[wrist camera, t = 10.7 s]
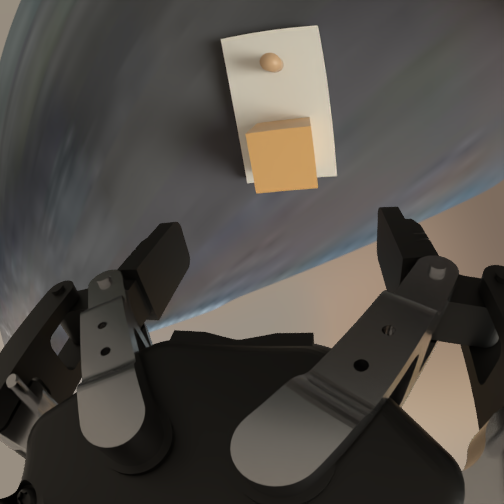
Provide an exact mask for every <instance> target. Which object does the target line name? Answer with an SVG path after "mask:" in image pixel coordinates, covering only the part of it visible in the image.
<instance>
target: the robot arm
mask: <svg viewBox="0 0 504 504" xmlns="http://www.w3.org/2000/svg"><path fill="white" fill-rule="evenodd" d="M377 256H378V261H379V264H380V268H381V271H382V275H383V278H384V281H385V285H386V289H387V290H385V291H383V292H382V293H381V294H380V296H378V298H377V299H376V300H375V301H374V302H373V303H372V305H371V306H370V307H369V308H368V309H367V310H366V312H365V313H364V314H363V315H362V316H361V317H360V318H359V319H358V321H357V322H356V323H355V324H354V325H353V326H352V327H351V328H350V329H349V331H348V332H347V333H346V334H345V335H344V336H343V337H342V338H341V339H340V340H339V341H338V342H337V344H335V346H334V347H333V348H332V349H331V348H329V347H325V346H322V345H317V344H314V335H313V333H275V334H271V335H265V336H259V337H254V338H248V339H243V340H235V339H230V338H226V337H222V336H218V335H215V334H211V333H207V332H194V331H193V332H192V331H176V330H175V331H174V333H173V334H172V336H171V339H170V340H169V341H164V342H160V343H156V344H154V345H153V344H152V341H151V338H150V335H149V332H148V329H147V327H146V325H145V323H144V322H145V320H159V319H160V317H161V316H162V314H163V312H164V310H165V308H166V307H167V305H168V303H169V301H170V299H171V298H172V296H173V294H174V292H175V291H176V289H177V287H178V285H179V284H180V282H181V280H182V278H183V277H184V275H185V273H186V272H187V270H188V268H189V264H190V256H189V252H188V249H187V245H186V242H185V239H184V235H183V232H182V229H181V226H180V224H179V223H178V222H170V223H161V224H159V225H158V226H157V228H156V229H155V230H154V231H153V232H152V233H151V234H150V235H149V237H148V238H146V239H145V240H143V241H142V242H141V243H140V244H139V245H138V246H137V247H136V250H134V251H133V252H132V253H131V255H130V256H129V257H128V258H127V259H126V260H125V261H124V263H123V264H122V265H121V266H120V267H119V268H118V270H108V271H105V272H103V273H101V274H99V275H97V276H96V277H95V278H93V279H92V280H91V282H90V283H89V285H88V289H84V290H80V291H77V290H76V288H75V286H74V284H73V282H72V281H63V282H61V283H58V284H56V285H55V286H53V287H52V288H51V289H50V290H49V291H48V292H47V293H46V294H45V296H44V297H43V298H42V299H41V300H40V302H39V303H38V304H37V305H36V306H35V308H34V309H33V310H32V311H31V313H30V314H29V315H28V316H27V318H26V319H25V320H24V321H23V323H22V324H21V325H20V327H19V328H18V329H17V331H16V332H15V333H14V334H13V336H12V337H11V338H10V340H9V341H8V343H7V344H6V345H5V347H4V348H3V349H2V351H1V353H0V441H1V442H3V443H4V444H5V445H6V446H8V447H9V448H10V449H12V450H14V451H16V452H17V453H18V454H20V455H21V456H22V457H24V458H25V459H26V460H25V467H24V472H23V476H22V481H21V483H20V485H19V487H18V489H17V491H16V492H15V493H14V494H12V495H11V496H8V497H6V498H2V499H0V504H504V266H499V265H491V266H488V267H486V268H485V269H484V271H483V275H482V278H475V277H468V276H463V275H459V270H458V268H457V266H456V265H455V264H454V263H453V262H452V261H450V260H448V259H447V258H444V257H441V256H439V255H438V253H437V252H436V250H435V248H434V247H433V245H432V243H431V242H430V240H429V238H428V237H427V235H426V234H425V232H424V230H423V228H422V227H421V225H420V224H418V223H417V222H415V221H414V220H412V219H405V218H404V216H403V215H402V213H401V211H400V210H399V208H398V207H380V208H379V209H378V230H377ZM59 324H61V326H62V327H63V329H64V330H65V332H66V333H67V335H68V336H69V339H68V341H67V342H66V344H65V345H64V347H63V348H62V350H61V351H60V353H59V355H58V356H57V354H56V353H55V352H54V350H53V349H52V347H51V343H50V340H51V336H52V334H53V333H54V332H55V330H56V329H57V327H58V326H59ZM439 341H442V342H448V343H455V344H461V348H462V352H463V355H464V359H465V363H466V367H467V371H468V375H469V379H470V383H471V387H472V393H473V397H474V402H475V407H476V413H477V419H478V425H479V432H478V433H477V434H476V435H475V436H474V437H473V439H472V440H471V442H470V444H469V447H468V451H467V462H466V465H465V468H464V470H463V471H461V469H460V467H459V465H458V464H457V462H456V461H455V459H454V458H453V457H452V456H451V455H450V454H449V453H448V452H447V451H446V450H445V449H444V448H443V447H442V446H441V445H440V444H439V443H437V442H436V441H435V440H434V439H433V438H432V437H431V436H430V435H429V434H428V433H427V432H426V431H425V430H424V429H423V428H422V427H421V426H420V425H419V424H418V423H416V422H415V421H414V420H413V419H412V418H411V417H410V416H409V415H408V414H407V413H406V412H405V411H404V410H403V409H402V406H403V404H404V403H405V401H406V399H407V398H408V396H409V394H410V392H411V390H412V388H413V386H414V384H415V383H416V381H417V379H418V378H419V376H420V374H421V372H422V371H423V369H424V367H425V365H426V364H427V362H428V360H429V359H430V357H431V355H432V353H433V351H434V349H435V347H436V346H437V344H438V342H439ZM81 378H82V383H80V384H79V385H78V383H79V382H80V380H81ZM77 385H78V386H77ZM76 387H77V392H76V393H75V394H73V393H74V391H75V389H76Z"/></svg>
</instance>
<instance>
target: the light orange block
mask: <svg viewBox="0 0 504 504" xmlns="http://www.w3.org/2000/svg"><path fill="white" fill-rule="evenodd" d="M245 135H246V140H247V146H248V151H249V156H250V162H251V167H252V173H253V178H254V183H255V189H256V193H266V192H276V191H287V190H299V189H311V188H318V182H317V172H316V163H315V154H314V146H313V138H312V130H311V123H310V117H307V118H297V119H287V120H279V121H271V122H263V123H257V124H256V125H255V126H254V127H252V128H251V129H250V130H249V131H248V132H247V133H246V134H245Z"/></svg>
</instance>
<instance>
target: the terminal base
mask: <svg viewBox="0 0 504 504" xmlns="http://www.w3.org/2000/svg"><path fill="white" fill-rule="evenodd" d="M221 44H222V49H223V54H224V59H225V65H226V70H227V75H228V81H229V86H230V91H231V97H232V102H233V107H234V113H235V118H236V124H237V129H238V134H239V140H240V145H241V151H242V156H243V162H244V167H245V173H246V178H247V183H254V178H253V173H252V167H251V162H250V156H249V151H248V146H247V140H246V135H245V134H246V133H247V132H248V131H249V130H250V129H251V128H252V127H254V126H255V125H256V124H257V123H263V122H271V121H279V120H287V119H297V118H307V117H310V123H311V130H312V138H313V146H314V154H315V163H316V172H317V177H328V176H337V171H336V158H335V146H334V136H333V126H332V117H331V108H330V100H329V92H328V85H327V78H326V71H325V64H324V58H323V52H322V46H321V40H320V35H319V29H318V26H305V27H294V28H285V29H277V30H269V31H262V32H256V33H250V34H244V35H239V36H234V37H229V38H224V39H221Z"/></svg>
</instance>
